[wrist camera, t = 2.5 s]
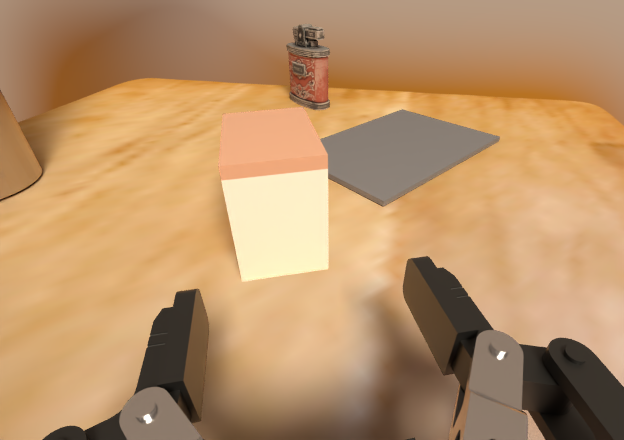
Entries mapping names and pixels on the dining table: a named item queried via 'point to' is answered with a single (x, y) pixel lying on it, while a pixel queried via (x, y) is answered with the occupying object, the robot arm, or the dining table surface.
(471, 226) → the dining table surface
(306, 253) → the block
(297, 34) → the lighter
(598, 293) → the dining table surface
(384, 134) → the mat
